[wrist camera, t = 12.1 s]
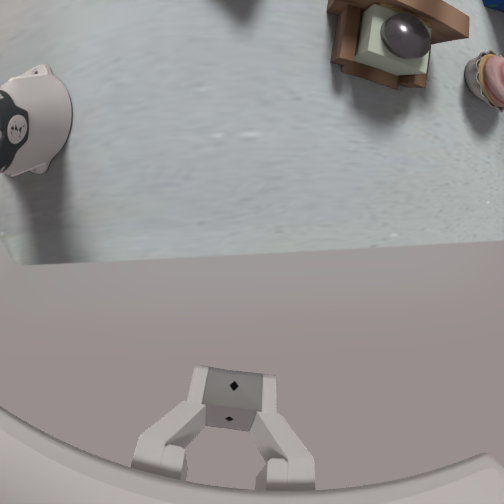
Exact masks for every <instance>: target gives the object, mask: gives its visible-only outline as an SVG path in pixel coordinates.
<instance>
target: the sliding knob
mask: <svg viewBox="0 0 504 504" xmlns="http://www.w3.org/2000/svg"><path fill="white" fill-rule="evenodd" d="M431 29H432V28H430V27H428V26H426V25H424V24H423V23H422V22H421V21H420V20H418V19H417V18H416V17H414V16H412V15H409V14H405V13H397V12H394V11H392V10H390V9H387V8H384V7H382V6H379V5H376V4H373V5H372V6H371V7H369V8H368V9H367V10H365V11H364V12H363V13H362V14H361V15H360V22H359V29H358V36H357V43H356V49H355V55H354V61H355V62H359V63H362V64H365V65H368V66H371V67H374V68H377V69H380V70H383V71H386V72H388V73H391V74H394V75H396V76H400V75H412V74H426V71H427V65H428V57H429V50H430V46H431Z"/></svg>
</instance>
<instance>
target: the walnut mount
mask: <svg viewBox="0 0 504 504" xmlns="http://www.w3.org/2000/svg"><path fill="white" fill-rule="evenodd" d="M373 4H376V5H379V6H382V7H384V8H387V9H390V10H392V11H394V12H397V13H405V14H409V15H412V16H414V17H416V18H417V19H418V20H420V21H421V22H422V23H423V24H424V25H426V26H428V27H430V28H432V29H431V44H436V43H441V42H446V41H452V40H458V39H464V38H469V16H467V15H466V14H464V13H462V12H461V11H459V10H458V9H456V8H454V7H453V6H451V5H449V4H447V3H446V2H444V1H442V0H328V5H327V12H330V13H333V14H337V15H338V18H337V25H336V31H335V38H334V44H333V50H332V56H331V63H335V64H339V65H343V66H342V72H344V73H348V74H351V75H355V76H358V77H361V78H365V79H368V80H371V81H374V82H377V83H380V84H383V85H385V86H388V87H391V88H394V89H397V87H398V84H400V85H402V86H405V87H415V88H425V84H426V78H427V71H428V65H429V57H430V50H429V57H428V65H427V71H426V74H412V75H400V76H396V75H394V74H391V73H388V72H386V71H383V70H380V69H377V68H374V67H371V66H368V65H365V64H362V63H359V62H355V61H354V55H355V49H356V43H357V36H358V29H359V22H360V15H361V14H362V13H363V12H364V11H365V10H367V9H368V8H369V7H371V6H372V5H373ZM430 49H431V46H430Z"/></svg>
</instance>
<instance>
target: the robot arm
mask: <svg viewBox="0 0 504 504" xmlns="http://www.w3.org/2000/svg"><path fill="white" fill-rule="evenodd" d="M37 72H38V74H37ZM71 118H72V109H71V102H70V98H69V94H68V92H67V90H66V88H65V86H64V85H63V84H62V83H61V82H60V81H59V80H58V79H57V78H55V77H54V76H53V75H52V72H51V70H50V67H49V66H48V64H46V63H45V64H40V65H38V66H36V67H34V68H32V69H31V70H29V71H27V72H25V73H24V74H22V75H20V76H19V77H13V78H10V79H9V81H8V82H6V83H4V84H3V85H2V86H0V173H2V172H3V173H5V175H10V176H11V177H13V176H16V175H19V174H21V173H24V172H26V171H31V172H34V173H37V174H42V173H45V172H46V170H47V168H48V166H49V164H50V161H51V159H52V158H53V157H54V156H55V155H56V154H57V153H58V152H59V151H60V150H61V148H62V147H63V145H64V143H65V141H66V139H67V137H68V134H69V130H70V126H71ZM205 426H211V427H219V428H228V429H234V430H241V431H249V433H250V435H251V437H252V438H253V440H254V442H255V444H256V445H257V447H258V449H259V451H260V453H261V454H262V456H263V458H264V460H265V461H266V465H265V466H264V467H263V469H262V470H261V471H260V473H259V474H258V475H257V477H256V485H255V490H248V489H236V488H227V487H219V486H211V485H205V484H198V483H192V482H187V481H186V477H187V470H188V467H187V461H186V454H185V451H184V448H185V447H186V446H187V445H188V444H189V443H190V442H191V441H192V440H193V439H194V438H195V437H196V436H197V435H198V434H199V433H200V431H202V430H203V429H204V428H205ZM0 504H504V468H503V466H502V465H501V464H500V463H499V462H498V461H497V460H495V459H494V458H493V457H492V456H490V455H489V454H488V453H481V454H478V455H476V456H473V457H471V458H468V459H465V460H462V461H460V462H457V463H454V464H451V465H448V466H445V467H442V468H439V469H436V470H432V471H429V472H425V473H422V474H418V475H414V476H410V477H406V478H402V479H397V480H392V481H388V482H382V483H377V484H370V485H364V486H357V487H349V488H339V489H328V490H315V469H314V458H313V457H312V455H311V454H310V453H309V451H308V450H307V449H306V447H305V446H304V445H303V444H302V442H301V441H300V439H299V438H298V437H297V435H296V434H295V433H294V431H293V430H292V428H291V427H290V426H289V424H288V423H287V422H286V420H285V419H284V417H283V416H282V415H281V414H280V413H277V378H276V376H275V375H265V374H259V373H250V372H241V371H231V370H225V369H219V368H213V367H208V366H202V365H195V367H194V371H193V375H192V379H191V383H190V387H189V392H188V396H187V400H186V401H184V400H183V401H181V402H180V403H179V404H178V405H176V406H175V407H174V408H173V409H172V410H170V411H169V412H168V413H167V414H166V415H165V416H163V417H162V418H161V419H160V420H158V421H157V422H156V423H155V424H153V425H152V426H151V427H150V428H149V429H147V430H146V431H145V432H144V433H142V434H141V435H140V436H139V439H138V443H137V446H136V450H135V454H134V457H133V460H132V464H131V467H128V466H124V465H121V464H118V463H115V462H112V461H110V460H107V459H104V458H101V457H99V456H96V455H93V454H91V453H88V452H86V451H84V450H81V449H79V448H77V447H74V446H72V445H70V444H68V443H65V442H63V441H61V440H59V439H57V438H55V437H53V436H51V435H49V434H47V433H45V432H43V431H41V430H39V429H38V428H36V427H34V426H32V425H30V424H29V423H27V422H25V421H23V420H21V419H20V418H18V417H17V416H15V415H13V414H12V413H10V412H8V411H7V410H5V409H4V408H2V407H1V406H0Z"/></svg>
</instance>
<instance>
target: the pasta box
mask: <svg viewBox="0 0 504 504" xmlns="http://www.w3.org/2000/svg"><path fill="white" fill-rule="evenodd" d="M482 1H483V3H484V6H485V7H488V8H491V9H495V10H498V11H501V12H504V0H482Z"/></svg>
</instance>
